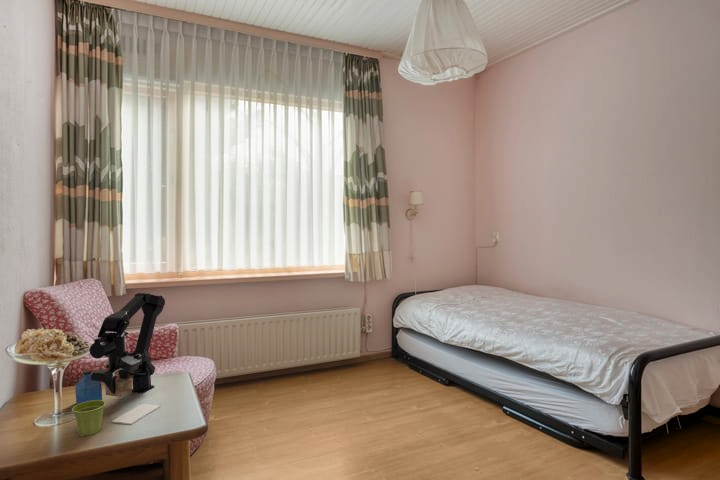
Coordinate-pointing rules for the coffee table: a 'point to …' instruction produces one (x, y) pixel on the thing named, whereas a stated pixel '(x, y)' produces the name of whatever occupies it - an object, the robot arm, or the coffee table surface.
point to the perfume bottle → (88, 388)
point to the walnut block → (120, 388)
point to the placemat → (136, 414)
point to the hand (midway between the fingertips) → (118, 391)
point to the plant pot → (89, 416)
